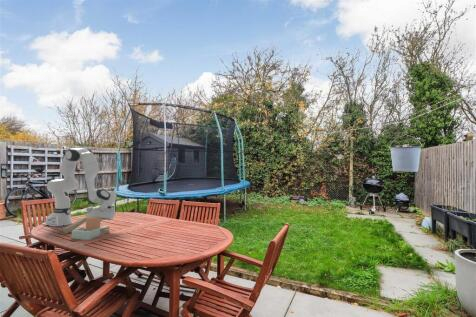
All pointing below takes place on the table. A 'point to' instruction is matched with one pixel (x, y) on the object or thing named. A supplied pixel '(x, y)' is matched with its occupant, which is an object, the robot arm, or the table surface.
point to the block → (92, 223)
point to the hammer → (77, 222)
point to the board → (101, 230)
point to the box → (85, 234)
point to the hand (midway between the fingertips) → (96, 223)
